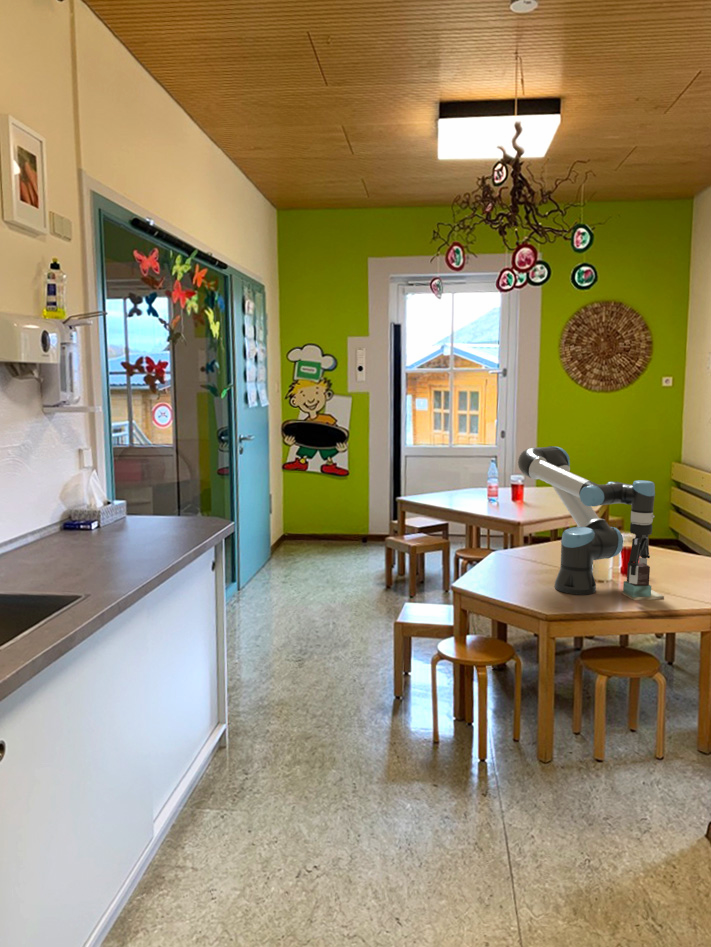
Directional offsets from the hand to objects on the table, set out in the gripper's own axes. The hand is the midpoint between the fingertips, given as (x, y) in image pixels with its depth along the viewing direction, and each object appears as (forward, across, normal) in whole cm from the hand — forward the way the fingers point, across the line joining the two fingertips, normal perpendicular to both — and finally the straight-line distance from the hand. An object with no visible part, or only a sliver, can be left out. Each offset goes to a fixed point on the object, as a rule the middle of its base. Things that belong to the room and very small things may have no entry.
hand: (637, 579), depth 264 cm
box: (+2, 0, 0) cm, 2 cm away
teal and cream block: (+7, +2, -2) cm, 7 cm away
